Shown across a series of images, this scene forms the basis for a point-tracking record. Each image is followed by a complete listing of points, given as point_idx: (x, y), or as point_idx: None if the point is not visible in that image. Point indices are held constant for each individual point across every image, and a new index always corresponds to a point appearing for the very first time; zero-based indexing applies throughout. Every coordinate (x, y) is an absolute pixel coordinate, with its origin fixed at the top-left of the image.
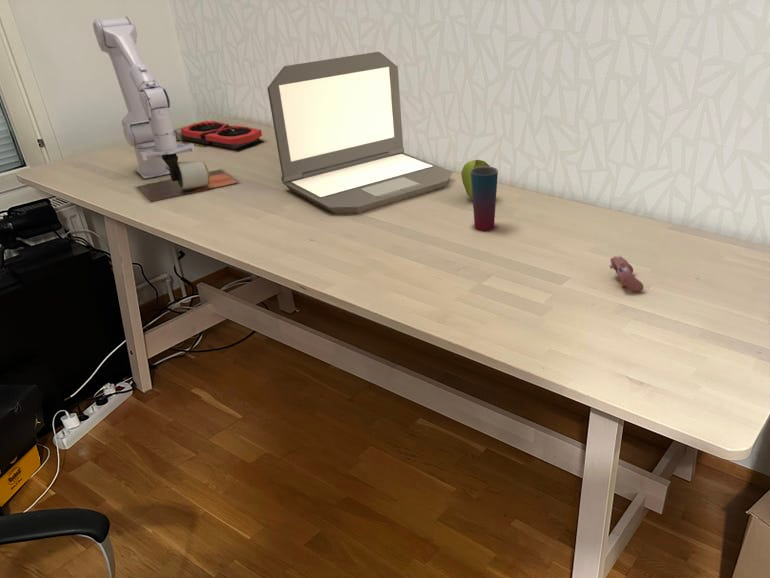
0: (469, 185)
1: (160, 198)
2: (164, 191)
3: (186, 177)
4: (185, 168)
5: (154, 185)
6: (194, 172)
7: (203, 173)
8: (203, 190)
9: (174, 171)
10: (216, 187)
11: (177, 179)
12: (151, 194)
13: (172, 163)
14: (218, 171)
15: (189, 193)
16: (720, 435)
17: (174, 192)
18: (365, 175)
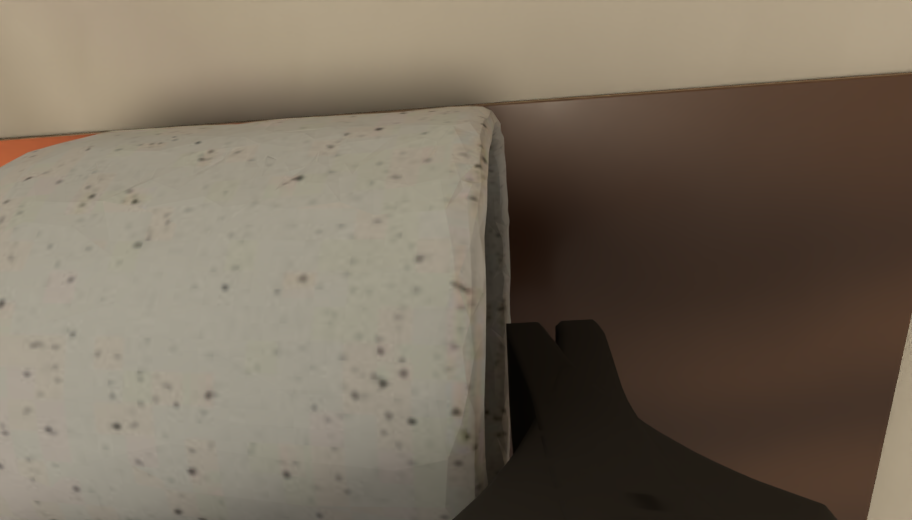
0: None
1: (829, 94)
2: (686, 327)
3: (406, 116)
4: (344, 252)
5: None
6: (202, 173)
7: (54, 156)
8: (250, 121)
9: (570, 386)
10: (76, 136)
11: (530, 325)
12: (848, 309)
13: (623, 475)
14: None
15: (438, 107)
16: None
17: (599, 226)
18: None
